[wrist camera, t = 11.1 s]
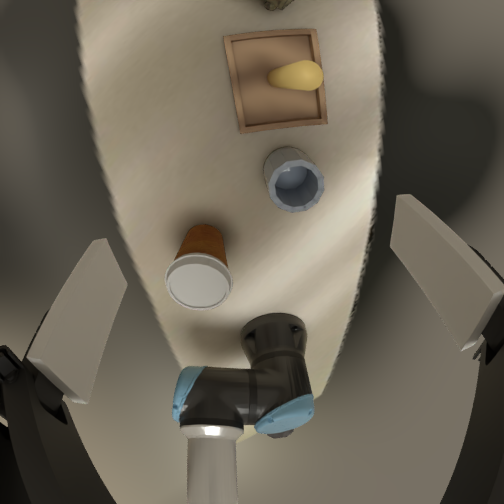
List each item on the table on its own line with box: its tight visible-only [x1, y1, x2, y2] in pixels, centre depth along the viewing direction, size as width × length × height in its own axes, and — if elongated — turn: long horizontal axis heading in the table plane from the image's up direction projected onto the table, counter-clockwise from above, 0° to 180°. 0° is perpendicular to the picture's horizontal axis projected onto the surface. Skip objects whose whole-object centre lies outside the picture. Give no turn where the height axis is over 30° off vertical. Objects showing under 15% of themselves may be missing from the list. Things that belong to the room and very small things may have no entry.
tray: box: [223, 29, 328, 134], centre depth 31 cm, size 14×12×2 cm
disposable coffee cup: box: [165, 224, 233, 310], centre depth 41 cm, size 10×10×12 cm
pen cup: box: [263, 147, 324, 213], centre depth 37 cm, size 7×7×7 cm
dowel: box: [267, 60, 323, 91], centre depth 25 cm, size 3×3×15 cm
